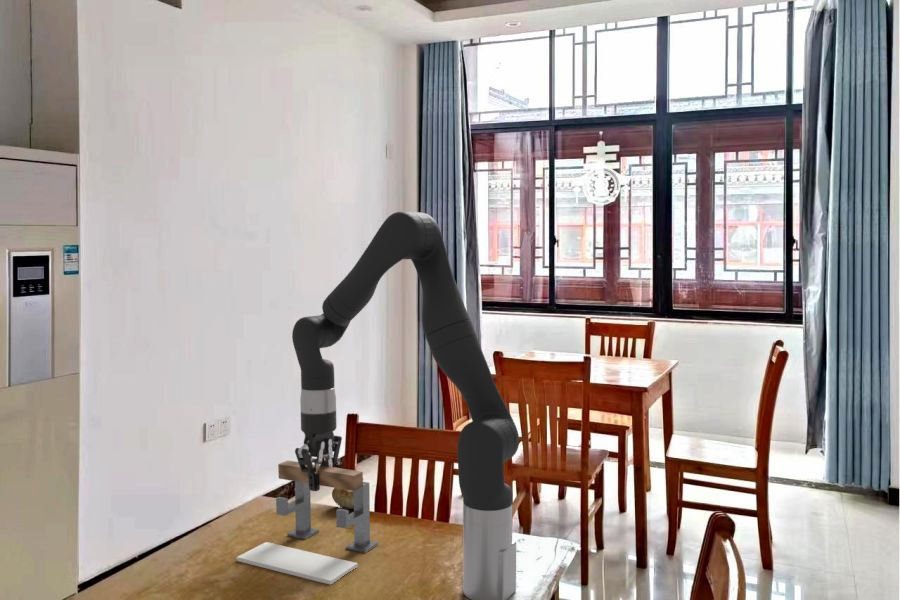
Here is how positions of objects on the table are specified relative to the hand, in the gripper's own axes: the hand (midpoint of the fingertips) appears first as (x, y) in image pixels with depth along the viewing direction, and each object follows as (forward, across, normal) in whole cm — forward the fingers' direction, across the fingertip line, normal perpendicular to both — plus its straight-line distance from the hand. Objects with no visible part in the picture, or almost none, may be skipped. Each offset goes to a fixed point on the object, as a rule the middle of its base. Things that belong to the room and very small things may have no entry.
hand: (320, 487), depth 160 cm
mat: (+13, -9, -1) cm, 16 cm away
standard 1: (+13, +2, +8) cm, 16 cm away
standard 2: (+13, +2, -8) cm, 15 cm away
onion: (+13, +23, +9) cm, 28 cm away
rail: (-1, 0, 0) cm, 1 cm away
